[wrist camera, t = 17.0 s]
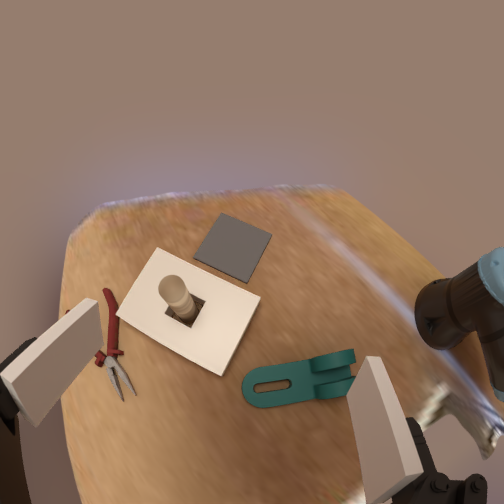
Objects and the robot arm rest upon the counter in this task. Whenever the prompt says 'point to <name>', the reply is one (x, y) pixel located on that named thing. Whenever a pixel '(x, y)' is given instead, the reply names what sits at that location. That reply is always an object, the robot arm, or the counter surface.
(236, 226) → the mat
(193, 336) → the hole block
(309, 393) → the bracket
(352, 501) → the counter surface
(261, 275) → the counter surface
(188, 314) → the peg
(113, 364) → the pliers
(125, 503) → the counter surface
